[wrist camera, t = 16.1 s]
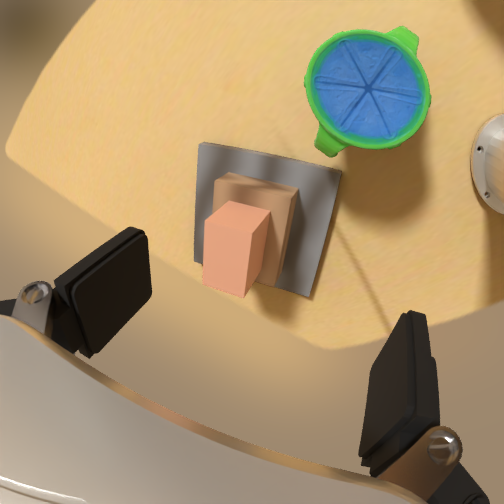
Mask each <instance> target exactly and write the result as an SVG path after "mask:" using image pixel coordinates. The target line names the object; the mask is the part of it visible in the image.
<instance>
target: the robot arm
mask: <svg viewBox="0 0 504 504" xmlns="http://www.w3.org/2000/svg"><path fill="white" fill-rule="evenodd" d="M478 146H479V147H480V149H479V150H477V148H478ZM471 172H472V178H473V181H474V184H475V187H476V189H477V191H478V193H479V195H480V196H481V197H482V199H483V200H484V201H485V202H486V203H487V204H488V205H489V206H490V207H491V208H492V209H493V210H495V211H496V212H499V213H501V214H503V215H504V114H499V115H496V116H494V117H492V118H490V119H489V120H488V121H487V122H486V123H484V125H483V126H482V127H481V128H480V130H479V131H478V133H477V135H476V137H475V140H474V143H473V146H472V152H471ZM485 192H486V194H485ZM54 283H55V286H56V287H55V288H54V289H52V287H51V285H50V284H49V283H48V282H45V281H35V282H32V283H29V284H28V285H26V286H25V287H23V288H22V289H21V291H20V292H19V294H18V297H17V299H11V300H5V301H0V504H490V502H489V499H488V497H487V496H486V494H485V493H484V492H483V490H482V489H481V488H480V487H479V485H478V484H477V483H476V482H475V481H474V480H473V478H472V477H471V476H470V475H469V473H468V472H467V471H466V470H465V468H464V467H463V466H462V465H461V464H460V462H459V461H460V459H461V457H462V452H463V449H462V442H461V440H460V437H459V436H458V435H457V433H456V432H455V431H453V430H452V429H451V428H449V427H446V426H440V410H439V391H438V379H437V370H436V369H437V368H436V361H435V359H434V357H431V349H430V341H429V333H428V326H427V320H426V315H425V314H422V313H419V312H415V311H412V310H409V311H408V312H407V314H406V313H402V315H401V316H400V318H399V320H398V322H397V324H396V325H395V327H394V329H393V331H392V333H391V334H390V336H389V338H388V340H387V342H386V343H385V345H384V347H383V348H382V350H381V352H380V354H379V355H378V357H377V358H376V360H375V362H374V363H373V365H372V368H371V371H370V377H369V386H368V394H367V403H366V409H365V417H364V423H363V429H362V436H361V441H360V447H359V454H358V455H359V457H362V462H361V466H366V467H370V475H371V476H366V475H362V474H358V473H354V472H350V471H346V470H342V469H337V468H332V467H329V466H325V465H320V464H317V463H313V462H309V461H305V460H302V459H298V458H295V457H291V456H288V455H285V454H281V453H278V452H275V451H272V450H269V449H266V448H263V447H259V446H257V445H254V444H251V443H247V442H245V441H242V440H240V439H237V438H234V437H232V436H229V435H226V434H224V433H221V432H219V431H216V430H214V429H212V428H209V427H206V426H204V425H202V424H200V423H197V422H195V421H193V420H190V419H188V418H186V417H184V416H182V415H180V414H177V413H175V412H173V411H171V410H169V409H167V408H165V407H163V406H161V405H159V404H157V403H155V402H153V401H151V400H149V399H147V398H145V397H143V396H141V395H139V394H138V393H136V392H134V391H132V390H130V389H128V388H127V387H125V386H123V385H122V384H120V383H118V382H116V381H115V380H113V379H111V378H109V377H108V376H106V375H104V374H103V373H101V372H99V371H98V370H96V369H95V368H93V367H92V366H90V365H88V364H87V363H85V362H84V361H82V360H81V359H79V358H78V357H76V356H75V352H76V351H77V350H79V352H80V353H81V354H83V355H84V356H86V357H88V358H89V359H90V358H91V356H93V354H94V353H99V352H100V351H101V350H102V349H103V347H104V346H105V345H106V344H107V343H108V342H109V341H110V340H111V339H112V338H113V337H114V336H115V335H116V334H117V333H118V331H119V330H120V329H121V328H122V327H123V326H124V325H125V324H126V323H127V322H128V321H129V320H130V319H131V318H132V317H133V316H134V315H135V313H137V312H138V310H139V309H140V308H141V307H142V306H143V305H144V304H145V303H146V302H147V301H148V300H149V299H150V297H151V295H152V285H151V274H150V264H149V250H148V238H147V236H146V235H145V232H144V231H143V230H140V229H137V228H134V227H128V228H126V229H125V230H123V231H122V232H120V233H119V234H117V235H116V236H114V237H113V238H112V239H110V240H109V241H107V242H106V243H104V244H103V245H101V246H100V247H99V248H97V249H96V250H94V251H93V252H91V253H90V254H89V255H87V256H86V257H85V258H83V259H82V260H80V261H79V262H78V263H76V264H75V265H74V266H72V267H71V268H70V269H68V270H67V271H66V272H64V273H63V274H62V275H60V276H59V277H58V278H56V279H55V280H54Z"/></svg>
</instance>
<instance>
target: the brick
mask: <svg viewBox="0 0 504 504" xmlns="http://www.w3.org/2000/svg"><path fill="white" fill-rule="evenodd" d="M269 217H270V211H269V210H265V209H261V208H257V207H253V206H249V205H245V204H241V203H237V202H233V201H228V202H227V203H225V204H224V205H223V206H222V207H221V208H219V209H218V210H217V211H216V212H214V213H213V214H212V215H211V216H210V217H208V218H207V219H206V220H205V226H204V251H203V285H206V286H208V287H211V288H214V289H217V290H220V291H223V292H226V293H229V294H232V295H235V296H238V297H241V298H244V297H245V296H246V294H247V292H248V291H249V289H250V287H251V286H252V284H253V282H254V281H255V279H256V278H257V276H258V274H259V273H260V271H261V268H262V262H263V256H264V249H265V243H266V237H267V230H268V224H269Z"/></svg>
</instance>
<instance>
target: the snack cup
mask: <svg viewBox="0 0 504 504" xmlns="http://www.w3.org/2000/svg"><path fill="white" fill-rule="evenodd" d="M418 43H419V37H418V36H417V35H416V34H414V33H412V32H411V31H409V30H408V29H407V28H406V27H404V26H400V27H398V28H396V29H393V30H392V31H390V32H388V33H380V32H377V31H372V30H360V29H358V30H350V31H346V32H343V31H342V32H340V33H337V34H335V35H333V37H332V38H330V39H328V40H327V41H326V42H324V43H323V44H322V45H321V46H320V47H319V48H318V49H317V50H316V52H315V53H314V55H313V57H312V58H311V60H310V63H309V66H308V69H307V73H306V75H305V77H304V87H305V88H306V93H307V98H308V102H309V104H310V107H311V109H312V111H313V113H314V114H315V116H316V118H317V119H318V121H319V130H318V133H317V137H316V139H315V141H314V145H315V147H316V148H317V149H318V150H320V151H321V152H323V153H324V154H325V155H326V156H328V157H335V156H337V154H338V152H339V151H341V150H343V149H344V148H346V147H348V146H355V147H359V148H364V149H376V150H378V149H385V148H388V149H392V148H395V147H398V146H400V145H401V143H403V142H404V141H406V140H407V139H409V138H410V137H411V136H413V135H414V134H415V133H416V132H417V131H418V130H419V128H420V127H421V125H422V124H423V122H424V120H425V118H426V115H427V112H428V109H429V107H430V104H431V95H430V88H429V83H428V79H427V76H426V73H425V71H424V69H423V67H422V65H421V63H420V62H419V60H418V59H417V57H416V54H417V53H416V52H417V47H418Z"/></svg>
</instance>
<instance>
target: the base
mask: <svg viewBox="0 0 504 504" xmlns="http://www.w3.org/2000/svg"><path fill="white" fill-rule="evenodd" d="M341 173H342V171H340V170H337V169H333V168H329V167H325V166H321V165H317V164H313V163H309V162H304V161H300V160H296V159H291V158H287V157H282V156H278V155H273V154H268V153H263V152H258V151H253V150H248V149H242V148H237V147H231V146H225V145H219V144H213V143H207V142H203V143H200V144H199V148H198V164H197V182H196V203H195V231H194V261H195V262H198V263H201V264H203V251H204V226H205V220H206V219H207V218H208V217H210V216H211V215H212V214H213V213H214V212H216V211H217V210H218V209H219V208H221V207H222V206H223V205H224V204H225V203H227V202H228V201H233V202H237V203H241V204H245V205H249V206H253V207H257V208H261V209H265V210H269V211H270V217H269V224H268V230H267V237H266V243H265V249H264V256H263V262H262V268H261V271H260V273H259V274H258V276H257V278H256V279H255V282H258V283H262V284H265V285H268V286H271V287H277V288H280V289H283V290H287V291H290V292H293V293H297V294H300V295H303V296H307V297H309V295H310V292H311V288H312V285H313V281H314V278H315V274H316V271H317V267H318V264H319V260H320V257H321V253H322V249H323V246H324V242H325V238H326V234H327V230H328V226H329V223H330V219H331V215H332V211H333V207H334V202H335V198H336V194H337V190H338V186H339V181H340V177H341Z"/></svg>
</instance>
